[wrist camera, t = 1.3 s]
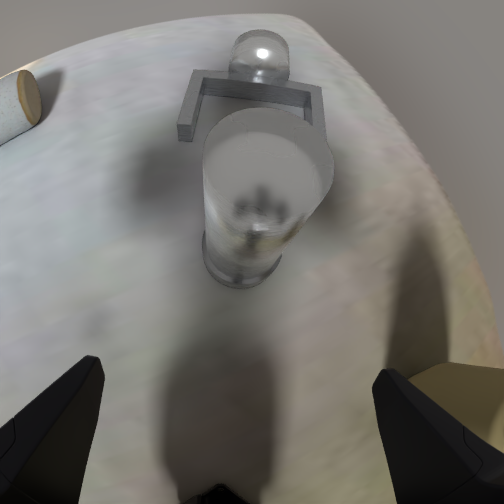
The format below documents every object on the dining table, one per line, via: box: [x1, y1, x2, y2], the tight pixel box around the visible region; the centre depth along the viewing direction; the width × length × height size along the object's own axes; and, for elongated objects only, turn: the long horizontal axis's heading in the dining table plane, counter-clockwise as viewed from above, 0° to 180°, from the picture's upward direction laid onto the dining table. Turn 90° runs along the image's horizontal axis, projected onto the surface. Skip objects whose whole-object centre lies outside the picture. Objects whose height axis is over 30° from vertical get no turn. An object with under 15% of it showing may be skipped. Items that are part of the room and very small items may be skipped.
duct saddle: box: [177, 30, 327, 142], centre depth 25 cm, size 12×13×6 cm
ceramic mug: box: [0, 70, 42, 145], centre depth 21 cm, size 11×8×8 cm
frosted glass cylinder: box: [202, 107, 334, 289], centre depth 17 cm, size 6×6×13 cm
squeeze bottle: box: [407, 362, 504, 453], centre depth 13 cm, size 8×8×18 cm
